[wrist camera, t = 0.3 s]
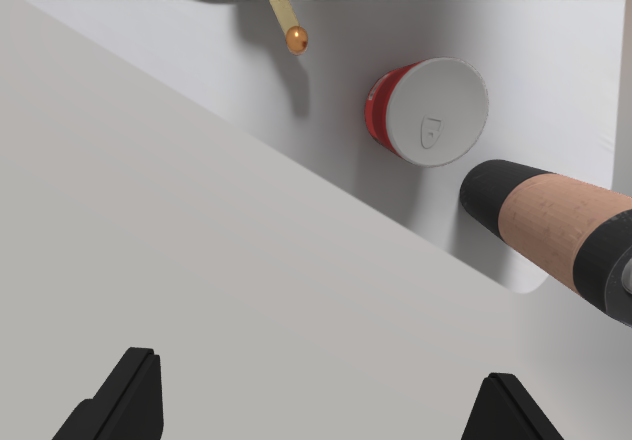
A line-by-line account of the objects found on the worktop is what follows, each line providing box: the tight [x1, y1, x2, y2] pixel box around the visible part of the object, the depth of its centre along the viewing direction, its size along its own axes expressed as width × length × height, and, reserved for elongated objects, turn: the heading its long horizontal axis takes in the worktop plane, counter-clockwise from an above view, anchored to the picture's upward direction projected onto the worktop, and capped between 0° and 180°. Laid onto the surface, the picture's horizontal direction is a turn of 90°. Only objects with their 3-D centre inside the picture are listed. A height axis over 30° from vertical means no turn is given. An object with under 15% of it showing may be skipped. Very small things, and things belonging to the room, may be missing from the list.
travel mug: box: [460, 160, 632, 327], centre depth 29 cm, size 8×8×20 cm
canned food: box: [365, 57, 488, 167], centre depth 30 cm, size 8×8×11 cm
